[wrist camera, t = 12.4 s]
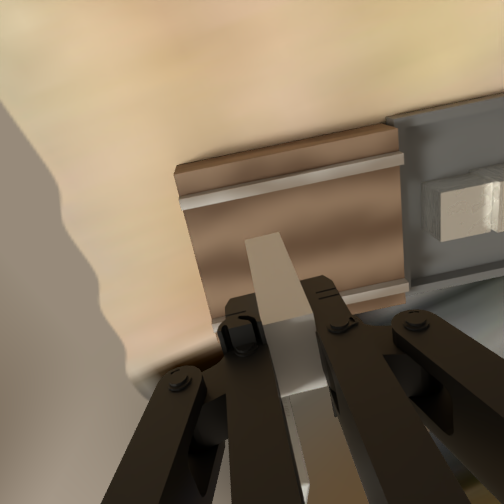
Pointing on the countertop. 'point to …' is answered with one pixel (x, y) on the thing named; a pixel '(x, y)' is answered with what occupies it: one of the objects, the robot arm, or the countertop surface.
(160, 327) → the countertop surface
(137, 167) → the countertop surface
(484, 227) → the white squarish block
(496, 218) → the beige block
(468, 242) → the tray
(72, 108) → the countertop surface
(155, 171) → the countertop surface
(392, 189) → the slot board
